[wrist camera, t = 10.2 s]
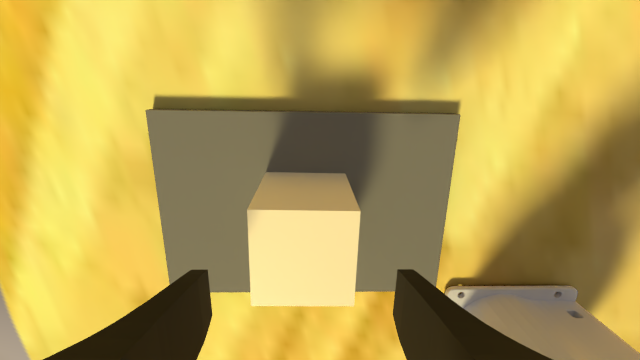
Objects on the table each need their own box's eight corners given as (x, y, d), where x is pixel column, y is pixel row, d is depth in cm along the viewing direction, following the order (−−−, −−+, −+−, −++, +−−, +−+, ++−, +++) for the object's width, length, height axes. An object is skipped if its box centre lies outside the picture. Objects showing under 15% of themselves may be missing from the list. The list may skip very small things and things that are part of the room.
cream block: (345, 173, 19) (360, 211, 13) (341, 244, 21) (354, 306, 15) (266, 172, 19) (246, 209, 13) (267, 243, 20) (251, 305, 15)
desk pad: (454, 113, 19) (460, 114, 18) (430, 284, 23) (435, 291, 22) (152, 109, 19) (145, 110, 18) (175, 285, 22) (170, 292, 21)
